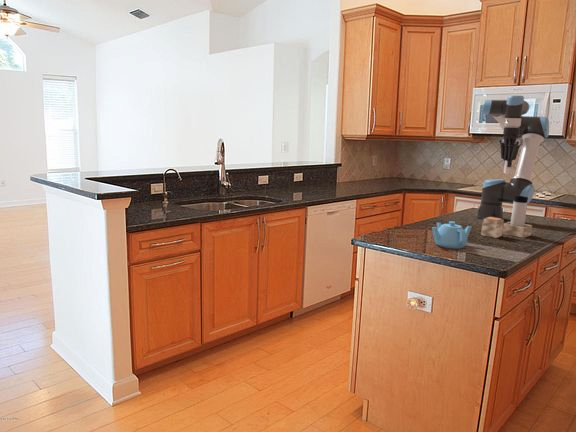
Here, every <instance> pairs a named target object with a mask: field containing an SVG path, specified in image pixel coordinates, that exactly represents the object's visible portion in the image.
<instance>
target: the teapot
mask: <svg viewBox="0 0 576 432" xmlns="http://www.w3.org/2000/svg"><path fill="white" fill-rule="evenodd" d="M472 227H473V226H470V225H467V226H466V227H465V228H463V226H462V225H461V224H460V225H459V224H456V221H451V220H450V221H448V223H443V224H442V223H441V222H436V226H432V227H431V230H432V237H433V240H434V242H435V243H434V244H436V245H437V246H439V247H442V248H446V249H457V250H458V249H463V248H464V247H465V246H466V245H467V244H468V237H469V236H470V233H471V230H472Z"/></svg>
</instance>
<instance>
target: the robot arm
mask: <svg viewBox="0 0 576 432" xmlns="http://www.w3.org/2000/svg"><path fill="white" fill-rule="evenodd" d="M524 99H525V97H524V96H523V95H508V97H507V99H506V100H505V99H501V100H500V99H498V100H497V99H493V100H492V99H489V100H488V99H487V100H484V101H483V103H482V107H481V112H482V114H483V115H487V116H489V115H491V117H493V118H494V120H496V122H497V123H499V127H500V129H502V130H503V133H502V134H503V135H504V136H503V139H500V140H499V145H500V158H501V159H503V174H510V173H511V167H512V165H513V164H512V163H513V161H516V160H517V159H516V158H517V157H518V156H517V155H518V153H519V150H520V149H521V150H520V154H519V157H518V162H517V165H516V170H515V172H514V175H513V177H512V178H510V179H509V182H507V181H506V179H504V178H503V179H502V178H501V179H500V178H498V179H496V178H493V179H485V180H484V181H483V184H482V187H481V189H482V190H481V198H480V199H481V200H480V205H479V207H478V209H477V211H476V213H475V217H476V218H477V219H480V220H481V219H482V220H483V219H485V218H488V217H494V218H500V219H501V220H504V217H505V215H504V210H503V203H508V204H513V203H514V196H523V197H528V201H527V205H528V204H530V202H531V201H532V199H533V197H534V194H535V185H533V181H532V175H533V172H534V167H535V163H536V159H537V155H538V152H539V148H540V144H541V143H543V141H544V139H545V138H548V137H549V135H550V121H549V118H548V117H546V116H525V115H527V113H528V112H529V110H530V103H528V101H526V100H524ZM523 115H524V116H523ZM519 137H521V139H522V140H523V141H520V140H519ZM521 145H522V146H521ZM520 146H521V148H520Z"/></svg>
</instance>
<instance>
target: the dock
mask: <svg viewBox="0 0 576 432" xmlns="http://www.w3.org/2000/svg"><path fill="white" fill-rule="evenodd" d="M510 224H511V221H507V222H505V220H504V219H503V220H501V221H498V222H497V221H491V220H485V219H482V223H481V231H480V236H483V237H484V236H485V237H489V238H495V239H497V238H499V237H502V236H503V235H505V236H510V237H511V236H512V237H517V238H523V239H525V238H527V237H530V236H532V229H533V225H532V224H528V223H527V224H526V223H525V224H524V227H518V226H513V225H510Z"/></svg>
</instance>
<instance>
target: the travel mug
mask: <svg viewBox="0 0 576 432" xmlns="http://www.w3.org/2000/svg"><path fill="white" fill-rule="evenodd" d="M527 201H528V197H523V196H514V203H512V209H511V217H510V222H511V224H510V225H513V226H518V227H524V224H526V223H525V222H526V215H527V208H528V204H527Z"/></svg>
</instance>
